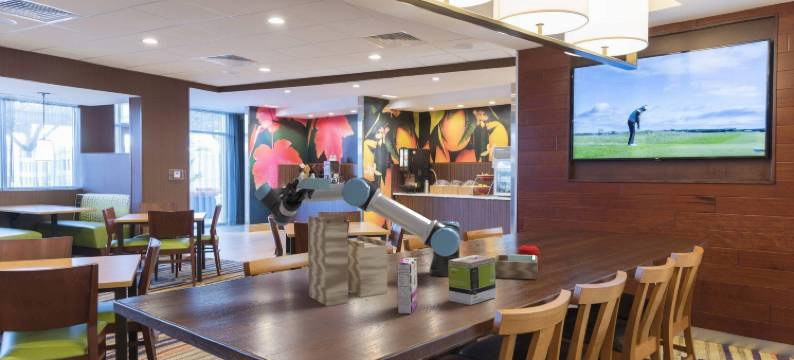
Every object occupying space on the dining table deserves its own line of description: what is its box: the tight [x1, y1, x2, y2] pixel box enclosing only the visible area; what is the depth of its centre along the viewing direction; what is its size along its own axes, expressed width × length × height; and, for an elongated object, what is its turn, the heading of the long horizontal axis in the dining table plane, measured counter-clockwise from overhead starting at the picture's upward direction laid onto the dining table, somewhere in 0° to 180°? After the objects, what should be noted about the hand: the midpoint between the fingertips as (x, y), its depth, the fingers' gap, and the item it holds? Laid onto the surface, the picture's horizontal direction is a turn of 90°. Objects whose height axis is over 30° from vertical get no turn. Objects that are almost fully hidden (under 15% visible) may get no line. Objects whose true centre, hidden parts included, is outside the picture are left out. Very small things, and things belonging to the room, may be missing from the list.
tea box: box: [448, 254, 497, 306], centre depth 190 cm, size 15×10×15 cm, turn 134°
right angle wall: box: [507, 254, 535, 262], centre depth 237 cm, size 12×12×8 cm
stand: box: [307, 213, 349, 307], centre depth 191 cm, size 17×8×31 cm, turn 30°
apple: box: [517, 243, 541, 260], centre depth 253 cm, size 10×10×11 cm
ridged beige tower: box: [348, 234, 388, 298], centre depth 207 cm, size 22×11×20 cm, turn 30°
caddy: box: [494, 254, 539, 280], centre depth 235 cm, size 18×18×7 cm
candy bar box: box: [396, 257, 418, 315], centre depth 177 cm, size 11×5×16 cm, turn 168°
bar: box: [293, 177, 331, 190], centre depth 205 cm, size 27×4×4 cm, turn 30°
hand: (308, 176), depth 207 cm, fingers closed on bar, 4 cm apart
